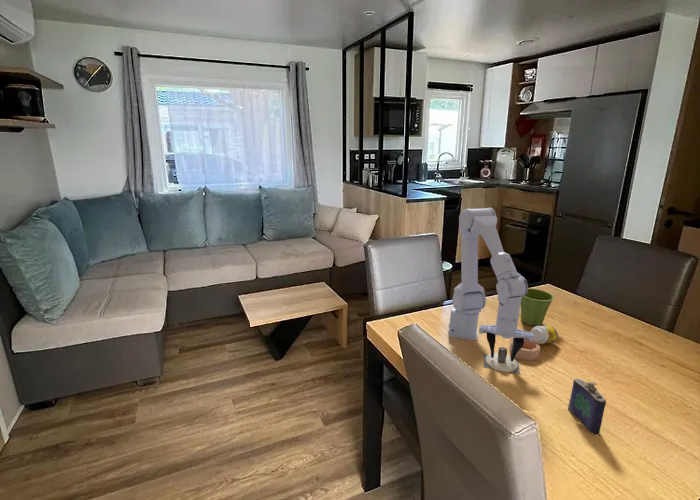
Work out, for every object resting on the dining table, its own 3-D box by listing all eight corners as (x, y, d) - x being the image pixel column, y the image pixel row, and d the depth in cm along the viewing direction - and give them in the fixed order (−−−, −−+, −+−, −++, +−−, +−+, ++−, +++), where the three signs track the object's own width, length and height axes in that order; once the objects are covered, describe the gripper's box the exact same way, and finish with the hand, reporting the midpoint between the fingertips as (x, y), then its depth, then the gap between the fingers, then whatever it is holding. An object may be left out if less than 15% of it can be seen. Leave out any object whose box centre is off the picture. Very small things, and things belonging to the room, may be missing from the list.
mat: (483, 368, 113) (483, 367, 113) (483, 354, 120) (483, 353, 120) (520, 375, 110) (520, 374, 110) (517, 360, 117) (518, 359, 117)
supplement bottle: (555, 345, 126) (540, 347, 120) (539, 338, 131) (524, 339, 124) (561, 330, 126) (546, 330, 119) (544, 322, 130) (530, 323, 123)
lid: (485, 368, 112) (487, 354, 111) (485, 353, 121) (487, 339, 119) (518, 374, 110) (520, 360, 108) (516, 358, 118) (518, 344, 116)
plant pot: (547, 332, 135) (552, 303, 132) (511, 324, 141) (516, 295, 137) (550, 319, 144) (555, 292, 141) (517, 312, 150) (521, 285, 147)
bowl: (509, 357, 119) (511, 348, 118) (508, 344, 126) (509, 335, 125) (539, 363, 116) (541, 353, 115) (536, 349, 124) (537, 339, 123)
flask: (565, 408, 97) (572, 371, 94) (575, 407, 97) (583, 371, 94) (592, 435, 88) (601, 396, 85) (603, 434, 88) (613, 395, 85)
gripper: (481, 318, 109) (476, 360, 113) (536, 326, 105) (529, 369, 109) (481, 308, 116) (476, 348, 120) (533, 315, 111) (527, 357, 115)
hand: (501, 357), depth 115 cm, fingers open, 5 cm apart
